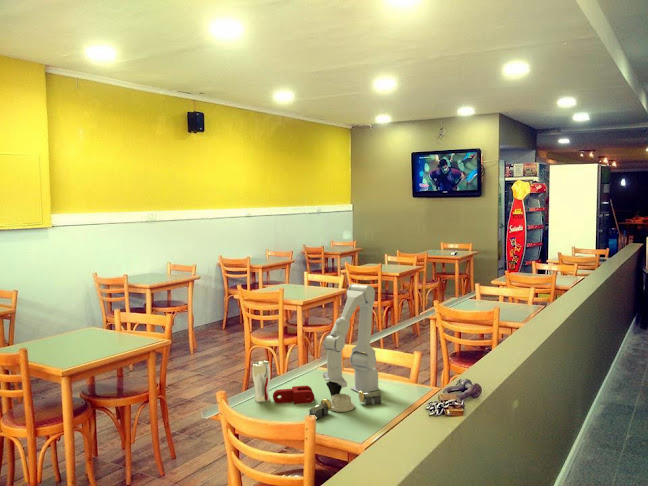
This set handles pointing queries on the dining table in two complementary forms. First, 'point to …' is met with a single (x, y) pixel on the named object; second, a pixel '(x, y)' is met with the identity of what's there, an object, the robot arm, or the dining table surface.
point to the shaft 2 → (370, 398)
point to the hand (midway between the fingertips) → (335, 400)
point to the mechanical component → (341, 403)
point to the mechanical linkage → (294, 395)
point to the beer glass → (261, 380)
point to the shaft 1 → (321, 409)
